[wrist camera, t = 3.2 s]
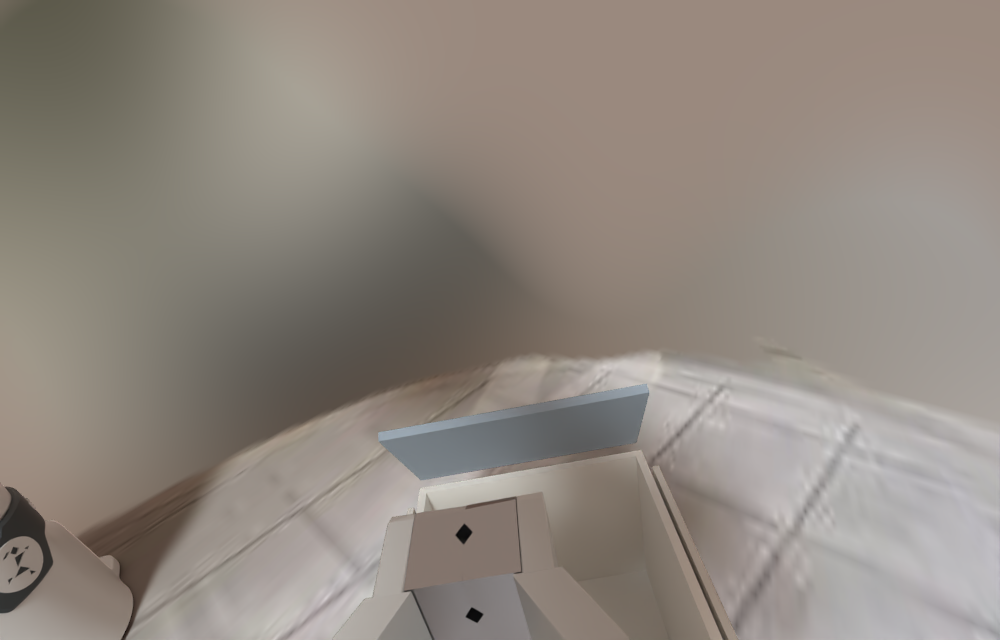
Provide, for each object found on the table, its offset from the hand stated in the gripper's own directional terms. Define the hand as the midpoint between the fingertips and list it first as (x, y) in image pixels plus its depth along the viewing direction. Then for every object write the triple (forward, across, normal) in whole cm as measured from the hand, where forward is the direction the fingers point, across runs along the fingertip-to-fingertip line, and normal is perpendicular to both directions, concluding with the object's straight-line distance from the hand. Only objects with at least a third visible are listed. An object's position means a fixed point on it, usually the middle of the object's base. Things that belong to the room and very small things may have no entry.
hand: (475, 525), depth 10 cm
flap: (+16, 0, +12) cm, 20 cm away
